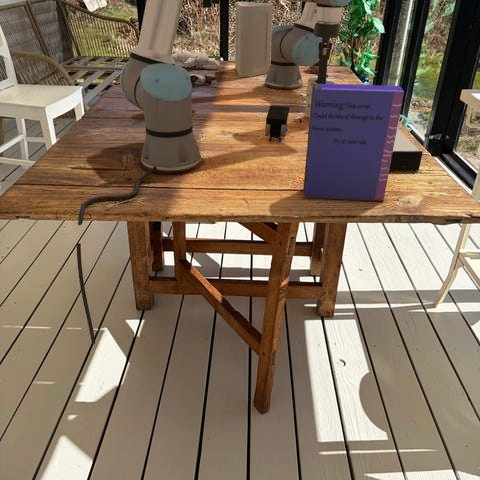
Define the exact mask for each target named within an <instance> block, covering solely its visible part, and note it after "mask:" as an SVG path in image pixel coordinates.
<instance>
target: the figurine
mask: <svg viewBox="0 0 480 480" xmlns="http://www.w3.org/2000/svg"><path fill="white" fill-rule="evenodd" d="M190 79H191V84H195V83H200V84H203V85H206V84H209V85H211V84H212V82H214V81H216V80H218V77H217V76H215V75H214V76H209V75H207V74H206V73H205V74H204V75H198V74H195V73H190Z"/></svg>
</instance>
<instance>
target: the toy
mask: <svg viewBox="0 0 480 480" xmlns="http://www.w3.org/2000/svg"><path fill="white" fill-rule="evenodd" d="M172 57H173V59H174V61H175V63H178V62H179V63H182V65H183V67H184V68H185V69H186V68H188V67H189V66H190V67H192V66H193V65H195V66H196V68H198V69H203V67H204V66H207V65H209V64H214V65H215V67H216V66H217V67H218V68H219V67H220V66H221V63H220V62H219V60H216V59H215V58H209V56H208V55H207V54H204V53H203V52H202V51H199V52H198V53H195V52H192V51H189V50H186V51H179V52H174V53H172Z"/></svg>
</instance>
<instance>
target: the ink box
mask: <svg viewBox="0 0 480 480" xmlns="http://www.w3.org/2000/svg"><path fill="white" fill-rule="evenodd" d="M317 79H318V77H308V78H307V85H306V94H305V95H306V96H305V108H304V117H305V118H310V109H311V98H312V87H313V84H317V82H315V80H317ZM326 84H336V79H335V78H326Z"/></svg>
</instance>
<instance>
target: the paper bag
mask: <svg viewBox="0 0 480 480" xmlns="http://www.w3.org/2000/svg"><path fill="white" fill-rule="evenodd" d="M273 8H274V4H273V3H269V2H267V3H266V2H265V3H264V2H252V1H235V59H234V60H235V62H234V63H235V65H234V66H235V68H234V69H235V71H236V73H237V75H238V77H239V78H253V77H257V76H259V75H260V76H261V75H267V74H268V71H269V68H270V63H271V34H272V28H273V10H274V9H273Z"/></svg>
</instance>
